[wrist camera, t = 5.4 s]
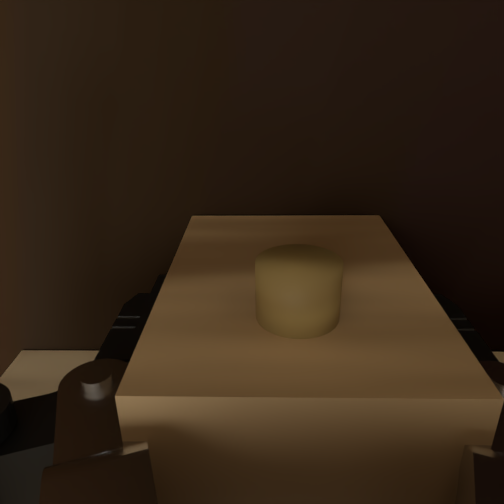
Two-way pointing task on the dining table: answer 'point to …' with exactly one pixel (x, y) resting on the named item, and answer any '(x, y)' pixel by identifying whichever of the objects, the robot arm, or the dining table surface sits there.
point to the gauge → (302, 370)
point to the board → (54, 370)
